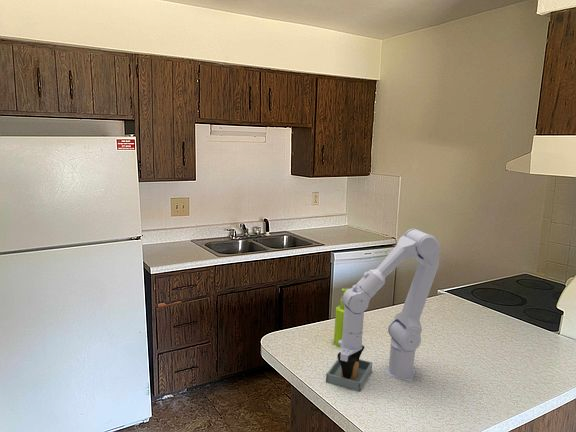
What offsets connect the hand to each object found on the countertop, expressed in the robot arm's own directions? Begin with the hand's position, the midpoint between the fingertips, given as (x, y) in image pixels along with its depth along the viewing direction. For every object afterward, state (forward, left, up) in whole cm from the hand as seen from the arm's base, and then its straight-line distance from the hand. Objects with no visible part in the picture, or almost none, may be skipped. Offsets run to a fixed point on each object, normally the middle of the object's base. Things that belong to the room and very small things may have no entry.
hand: (349, 373), depth 127 cm
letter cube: (0, 0, -1) cm, 1 cm away
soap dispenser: (-19, -8, -2) cm, 21 cm away
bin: (0, 0, -1) cm, 1 cm away
